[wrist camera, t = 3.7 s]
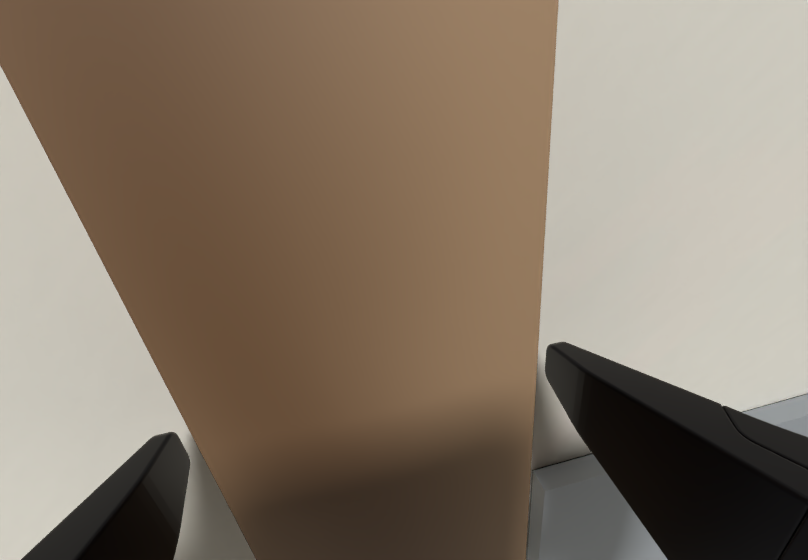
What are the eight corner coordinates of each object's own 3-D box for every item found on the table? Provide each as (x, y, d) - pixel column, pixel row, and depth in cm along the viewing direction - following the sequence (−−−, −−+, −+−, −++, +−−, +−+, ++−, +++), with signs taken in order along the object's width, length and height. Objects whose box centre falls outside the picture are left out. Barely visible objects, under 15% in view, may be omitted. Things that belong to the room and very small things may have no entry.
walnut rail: (402, -70, 6) (584, -442, 2) (455, 535, 14) (515, 724, 10) (159, -54, 6) (-298, -514, 2) (353, 565, 14) (370, 779, 10)
